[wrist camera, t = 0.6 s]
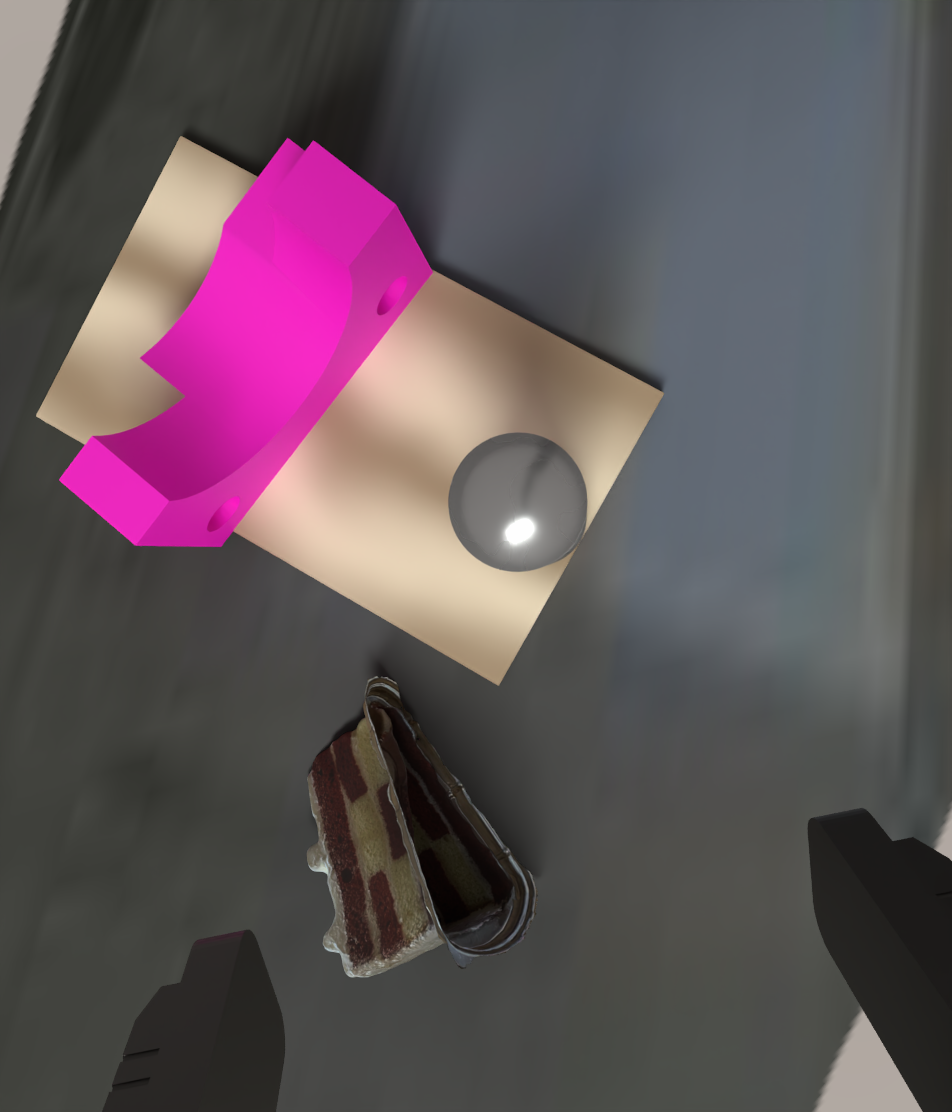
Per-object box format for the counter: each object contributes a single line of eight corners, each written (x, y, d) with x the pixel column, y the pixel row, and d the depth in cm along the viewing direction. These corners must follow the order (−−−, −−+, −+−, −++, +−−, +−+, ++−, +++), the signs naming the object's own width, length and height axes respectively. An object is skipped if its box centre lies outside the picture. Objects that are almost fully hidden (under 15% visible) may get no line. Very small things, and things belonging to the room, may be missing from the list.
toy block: (322, 185, 39) (259, 98, 31) (432, 272, 38) (396, 204, 31) (116, 458, 40) (8, 436, 32) (220, 546, 39) (135, 545, 32)
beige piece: (186, 142, 40) (5, -45, 27) (662, 395, 37) (702, 317, 25) (44, 418, 41) (-196, 359, 28) (500, 683, 38) (458, 747, 26)
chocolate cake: (256, 739, 40) (246, 1020, 32) (364, 660, 38) (384, 943, 29) (404, 804, 46) (429, 1057, 38) (507, 739, 43) (560, 996, 35)
